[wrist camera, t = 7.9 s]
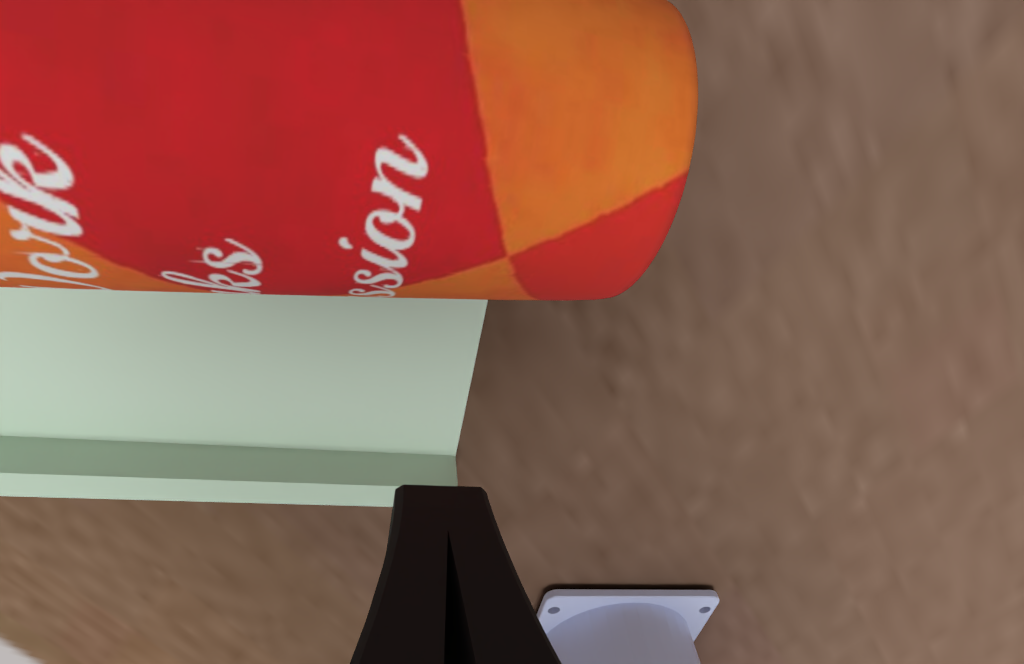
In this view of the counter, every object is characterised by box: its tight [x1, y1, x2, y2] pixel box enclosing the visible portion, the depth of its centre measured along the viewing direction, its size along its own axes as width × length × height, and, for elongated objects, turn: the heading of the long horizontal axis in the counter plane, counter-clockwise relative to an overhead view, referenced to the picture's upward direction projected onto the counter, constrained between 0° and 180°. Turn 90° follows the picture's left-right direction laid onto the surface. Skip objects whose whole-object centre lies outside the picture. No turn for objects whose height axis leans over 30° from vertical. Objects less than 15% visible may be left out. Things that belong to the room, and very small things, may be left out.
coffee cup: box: [0, 0, 698, 300], centre depth 12 cm, size 8×8×15 cm
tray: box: [0, 287, 488, 507], centre depth 17 cm, size 18×16×2 cm
